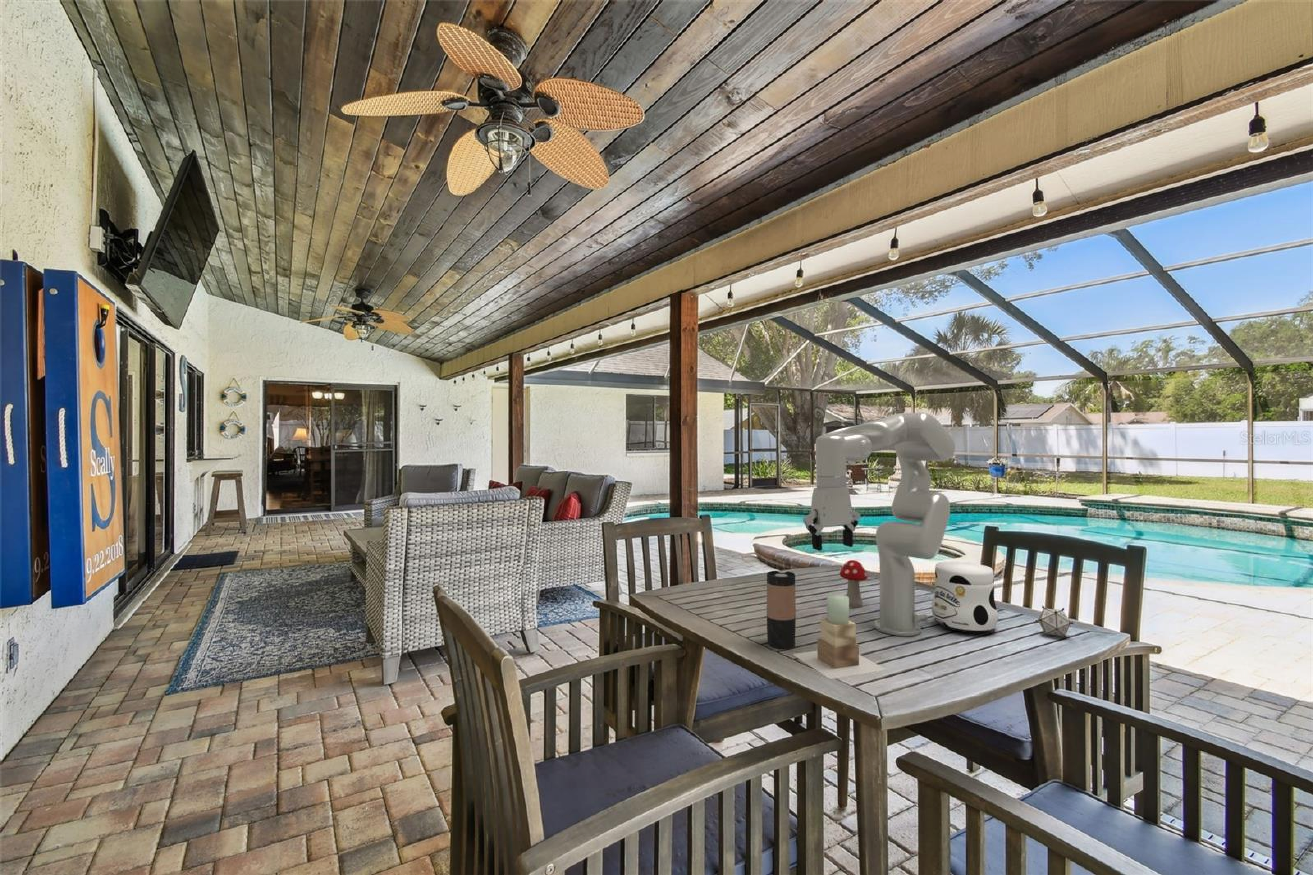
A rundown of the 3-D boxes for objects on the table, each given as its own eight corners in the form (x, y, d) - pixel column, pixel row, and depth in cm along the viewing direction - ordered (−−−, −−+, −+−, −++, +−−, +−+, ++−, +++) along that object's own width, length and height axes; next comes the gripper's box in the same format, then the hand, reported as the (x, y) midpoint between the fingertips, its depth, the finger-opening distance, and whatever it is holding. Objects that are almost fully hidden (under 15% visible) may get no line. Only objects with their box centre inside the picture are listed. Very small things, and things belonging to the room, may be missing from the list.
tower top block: (840, 636, 146) (840, 616, 146) (855, 644, 140) (855, 623, 140) (820, 638, 144) (820, 618, 144) (835, 647, 138) (835, 626, 138)
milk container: (923, 628, 170) (923, 567, 170) (941, 615, 183) (941, 558, 183) (990, 642, 158) (990, 576, 158) (1003, 626, 171) (1003, 566, 171)
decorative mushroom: (873, 608, 190) (873, 563, 190) (849, 610, 188) (849, 564, 188) (857, 600, 199) (857, 556, 199) (834, 601, 198) (834, 557, 198)
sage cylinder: (840, 617, 145) (840, 593, 145) (853, 623, 140) (853, 598, 140) (822, 619, 144) (822, 595, 144) (835, 625, 139) (835, 600, 139)
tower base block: (841, 654, 147) (840, 635, 147) (858, 665, 140) (858, 644, 140) (817, 658, 144) (817, 638, 144) (834, 668, 138) (834, 648, 138)
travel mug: (779, 655, 149) (779, 578, 149) (760, 646, 156) (760, 572, 156) (801, 650, 152) (801, 575, 152) (783, 641, 159) (782, 569, 159)
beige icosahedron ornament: (1057, 647, 164) (1077, 619, 164) (1064, 646, 157) (1084, 616, 157) (1025, 627, 169) (1044, 599, 169) (1030, 624, 161) (1050, 595, 162)
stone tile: (844, 650, 152) (844, 646, 152) (886, 673, 137) (886, 669, 137) (792, 658, 147) (792, 654, 147) (829, 683, 132) (829, 678, 132)
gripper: (848, 479, 157) (850, 542, 157) (794, 483, 150) (796, 548, 151) (868, 481, 150) (869, 547, 150) (812, 485, 143) (813, 554, 144)
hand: (832, 547), depth 150 cm, fingers open, 9 cm apart
